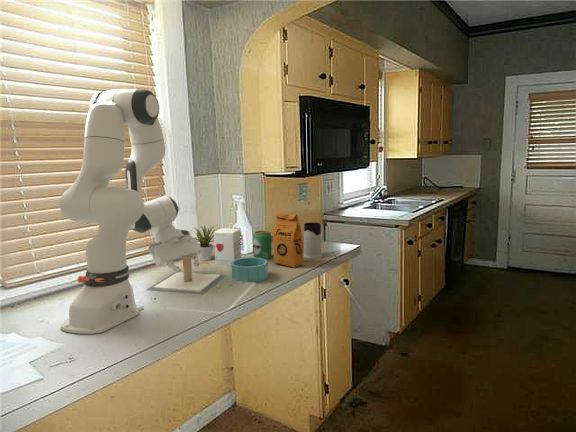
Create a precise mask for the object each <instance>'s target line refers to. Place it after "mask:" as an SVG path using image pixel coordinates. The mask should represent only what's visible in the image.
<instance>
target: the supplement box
mask: <svg viewBox="0 0 576 432" xmlns="http://www.w3.org/2000/svg"><path fill="white" fill-rule="evenodd" d="M213 235H214V237H213V242H214V264H215V266H229V267H231V264H230V262H232V261H233V260H236V259H240V258H242V248H241V247H242V244H241V240H242V239H241V228H228V227H227V228H226V227H225V228H224V227H223V228H222V227H220V228H218V229H216V230H215V231H214V232H213Z"/></svg>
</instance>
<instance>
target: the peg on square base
mask: <svg viewBox="0 0 576 432" xmlns="http://www.w3.org/2000/svg"><path fill="white" fill-rule="evenodd" d="M192 267H193V266H192V258H191V256H185V257H183V260H182V269H183V272H184V273H183V272H182V271H180V272H178V273H176V274H174V275H172V276H171V277H169V278H167V279H166V280H164V281H162V282H161V283H159V284H158V285H156V286H154V287H153V288H154V289H166V290H180V291H194V292H201V291H202V290H203V289H205V288H206V287H207V286H208V285H210V284H211V283H212V282H213V281H215V280H216V279H217V278H219V277H220V275H221V274H218V275H215V273H214V274H213V273H202V274H199V273H197V272H193V271H192V270H193V269H192Z"/></svg>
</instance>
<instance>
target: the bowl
mask: <svg viewBox="0 0 576 432" xmlns="http://www.w3.org/2000/svg"><path fill="white" fill-rule="evenodd" d="M230 264H231V266H230V278H231V279H232V280H234V281H237V282H247V283H248V282H249V283H250V282H253V283H259V282H262V281H266V279H268V277H269V262H268V260H266V259H262V258H255V257H253V256H252V257H251V256H250V257H248V256H247V257H241V258H240V259H236V260H233V261H232V262H230Z"/></svg>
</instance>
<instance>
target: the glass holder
mask: <svg viewBox="0 0 576 432" xmlns="http://www.w3.org/2000/svg"><path fill="white" fill-rule="evenodd" d="M303 230H304V231H303V258H306V259H320V258H322V257H323V255H322V240H323V235H324V224H322V223H320V222H314V221H313V222H305V223H304V225H303Z"/></svg>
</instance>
